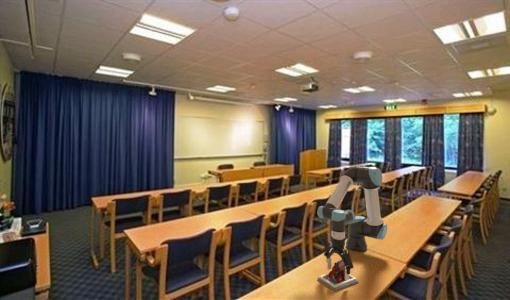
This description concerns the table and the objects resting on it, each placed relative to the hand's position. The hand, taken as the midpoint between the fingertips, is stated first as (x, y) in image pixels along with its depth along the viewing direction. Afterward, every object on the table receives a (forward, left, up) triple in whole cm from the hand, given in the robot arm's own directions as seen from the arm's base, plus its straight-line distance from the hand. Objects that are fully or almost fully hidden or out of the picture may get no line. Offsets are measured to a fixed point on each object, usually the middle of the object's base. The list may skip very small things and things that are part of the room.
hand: (337, 273), depth 156 cm
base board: (0, 0, -4) cm, 4 cm away
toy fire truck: (0, 0, -3) cm, 3 cm away
